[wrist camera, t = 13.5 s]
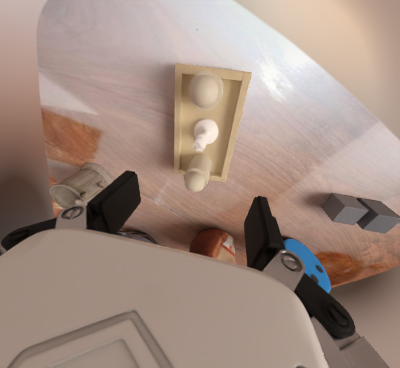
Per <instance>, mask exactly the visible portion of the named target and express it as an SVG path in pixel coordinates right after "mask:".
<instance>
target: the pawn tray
mask: <svg viewBox="0 0 400 368" xmlns="http://www.w3.org/2000/svg"><path fill="white" fill-rule="evenodd" d="M251 75H252V72H244V71H236V70H228V69H219V68H211V67H203V66H194V65H186V64H178V63H175V100H174V173H176V174H181V175H184V180H185V186H186V188H187V189H188V190H189V191H191V192H198V191H200V190H202V189H203V188H204V187H205V186H206V185H207V183H208V180H214V181H220V182H226V178H227V174H228V169H229V165H230V161H231V157H232V153H233V149H234V145H235V141H236V137H237V132H238V128H239V124H240V120H241V116H242V112H243V108H244V104H245V99H246V95H247V91H248V87H249V83H250V79H251ZM204 118H207V119H211V120H213V121H214V122H215V123H216V124H217V126H218V131H219V132H218V137H217V138H216V140H215V141H214V142H213V143H211V144H207V145H206V147H205V149H204V150H203V151H202V152H201V151H196V150H195V148H194V147H193V142H194V140H195V139H196V138H195V136H194V127H195V125H196V123H197V122H198V121H199V120H201V119H204Z"/></svg>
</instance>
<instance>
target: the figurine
mask: <svg viewBox="0 0 400 368" xmlns="http://www.w3.org/2000/svg"><path fill="white" fill-rule="evenodd" d="M233 242H234V240H233V237H232V236H230V235H229V234H227V233H226V232H224V231H222V230H219V229H207V230H204V231H202V232H200V233H199V234H197V235H196V236H195V237H194V239H193V240H192V242H191V245H190V252H191V253H195V254H199V255H203V256H207V257H212V258H216V259H220V260H224V261H228V262H232V263H235V251H234V246H233Z"/></svg>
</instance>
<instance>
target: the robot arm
mask: <svg viewBox="0 0 400 368" xmlns="http://www.w3.org/2000/svg"><path fill="white" fill-rule="evenodd" d="M140 202H141V197H140V191H139V184H138V177H137V174H135V172H133V171H125V172H124V173H123V174H122V175H120V176H119V177H118V178H117V179H115V180H114V181H113V182H112V183H111V184H109V185H108V186H107V187H106V188H105V189H103V190H102V191H101V192H100V193H98V194H97V195H96V196H95V197H94V198H92V199H91V200H90V201H89V202H88V203H87V204H88V205H87V206H84V205H80V204H77V205H72V206H69V207H67V208H65V209H63V210H62V211H61V212H60V213H59V214H58V217H57V218H54V219H51V220H47V221H44V222H40V223H37V224H33V225H30V226H26V227H23V228H20V229H17V230H15V231H13V232H11V233H10V234H8V235H7V236H6V237H5V238H4V239H3V240H2V242H1V243H0V368H328V367H327V364H326V361H327V363H328V364H329V366H330V368H389V366H388V365H387V364H386V363H385V362H384V360H383V359H382V358H381V357H380V356H379V354H378V353H377V352H376V351H375V350H374V348H373V347H372V346H371V345H370V344H369V343H368V341H367V340H366V339H365V338H364V337H363V336H362V337H360V336H359V334H358V333H357V332H356V331H355V325H354V322H353V320H352V318H351V316H350V315H349V313H348V312H347V310H346V309H345V308H344V307H343V306H341V304H340V303H339V302H337V301H336V300H335V299H334V298H333V297H332V296H331V295H330V294H328V293H327V292H326V291H325V290H324V289H323V288H322V287H321V286H319V285H318V284H317V283H316V282H315V281H314V280H313V279H312V278H310V277H309V276H308V275H307V274H306V273H305V265H304V263H303V261H302V260H301V259H300V257H299V256H297V255H296V254H295V253H293V252H292V251H289V250H286V249H285V245H284V242H283V239H282V236H281V233H280V230H279V227H278V224H277V221H276V218H275V217H273V216H272V214H271V211H270V207H269V204H268V201H267V198H266V197H262V196H258V197H255V198H254V200H253V203H252V205H251V207H250V210H249V212H248V215H247V217H246V219H245V222H244V230H245V242H246V254H247V266H248V267H246V266H243V265H239V264H235V263H232V262H228V261H224V260H220V259H216V258H212V257H207V256H203V255H199V254H195V253H191V252H186V251H182V250H178V249H174V248H169V247H165V246H161V245H157V244H152V243H148V242H144V241H139V240H135V239H131V238H126V237H122V236H117V235H116V234H117V232H118V231H119V230H120V229H121V227H122V226H123V225H124V223H125V222H126V221H127V219H128V218H129V217H130V216H131V214H132V213H133V212H134V210H135V209H136V208H137V206H138V205H139V204H140ZM322 351H323V352H322ZM323 353H324V354H323ZM325 360H326V361H325Z"/></svg>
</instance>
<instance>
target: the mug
mask: <svg viewBox="0 0 400 368" xmlns="http://www.w3.org/2000/svg"><path fill="white" fill-rule="evenodd" d="M113 181H114V180H113V178H112V176H111V175H110V173H109V172H108V171H107V170H106V169H104V168H103V167H101V166H100V165H97V164H94V163H86V164H84V165H83V166H82V167H81V170H80V171H79V172H77V173H76V174H74V175H72V176H70V177H69V178H67V179H65V180H63V181H62V182H60V183H58V184H54V185H52V186H51V187H50V195H51V196H52V198H53V200H54V201H55V202H56V203H57V204H58V205H60V206H61V207H62V208H64V209H65V208H67V207H69V206H72V205H77V204H80V205H84V206H87V205H88V204H87V203H88V202H89V201H90V200H91V199H92V198H94V197H95V196H96V195H97V194H98V193H100V192H101V191H102V190H103V189H105V188H106V187H107V186H108V185H109V184H111V183H112V182H113Z"/></svg>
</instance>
